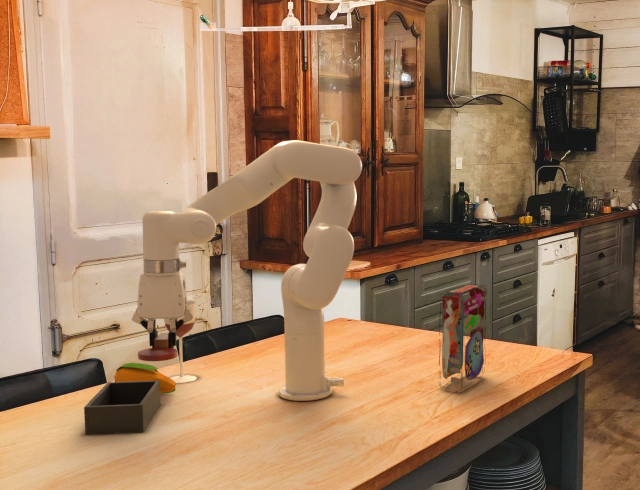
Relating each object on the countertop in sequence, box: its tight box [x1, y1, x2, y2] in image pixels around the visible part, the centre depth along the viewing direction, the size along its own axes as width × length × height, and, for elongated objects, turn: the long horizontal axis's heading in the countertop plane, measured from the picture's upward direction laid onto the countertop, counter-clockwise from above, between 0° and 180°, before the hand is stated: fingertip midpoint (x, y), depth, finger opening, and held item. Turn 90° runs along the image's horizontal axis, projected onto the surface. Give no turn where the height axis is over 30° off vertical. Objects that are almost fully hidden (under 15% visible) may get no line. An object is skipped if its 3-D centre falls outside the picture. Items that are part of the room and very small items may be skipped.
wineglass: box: [163, 299, 198, 384], centre depth 201 cm, size 8×9×20 cm
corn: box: [113, 362, 177, 395], centre depth 188 cm, size 7×8×20 cm
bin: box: [83, 381, 162, 436], centre depth 169 cm, size 12×19×6 cm, turn 7°
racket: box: [137, 332, 178, 362], centre depth 169 cm, size 8×15×3 cm, turn 7°
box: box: [438, 284, 489, 394], centre depth 198 cm, size 25×6×24 cm, turn 153°
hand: (163, 348), depth 173 cm, fingers closed on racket, 2 cm apart
